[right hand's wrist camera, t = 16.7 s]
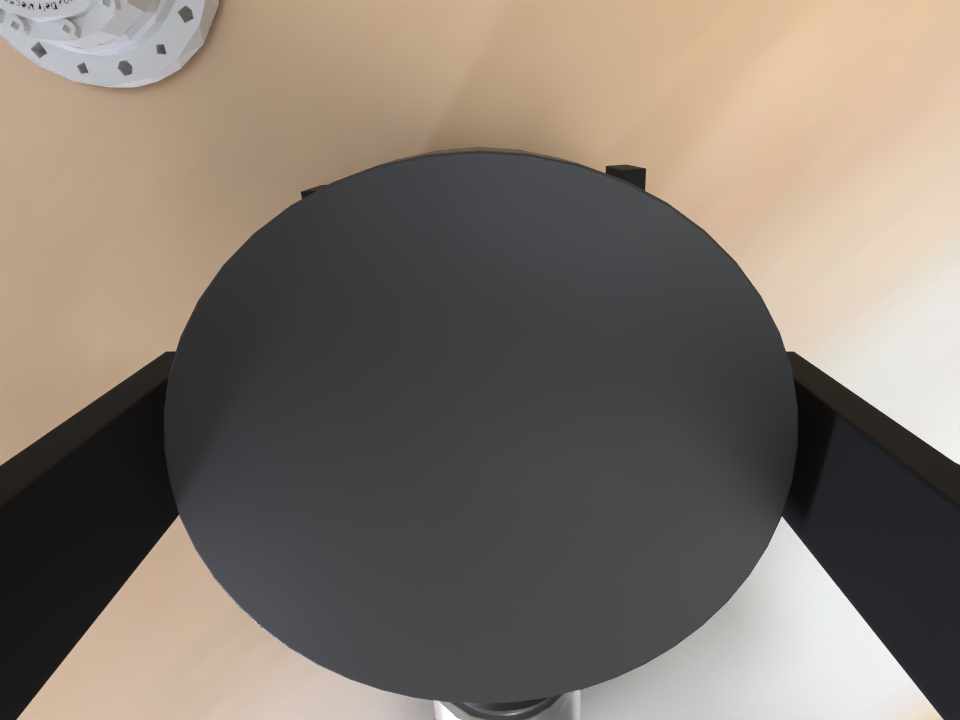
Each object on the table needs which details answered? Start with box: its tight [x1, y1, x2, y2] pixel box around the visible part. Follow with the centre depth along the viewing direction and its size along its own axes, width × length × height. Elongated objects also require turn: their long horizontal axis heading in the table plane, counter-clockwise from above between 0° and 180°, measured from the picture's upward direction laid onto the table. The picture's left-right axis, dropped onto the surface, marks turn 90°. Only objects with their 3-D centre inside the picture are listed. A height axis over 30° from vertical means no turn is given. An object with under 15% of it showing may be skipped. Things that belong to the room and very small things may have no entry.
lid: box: [164, 147, 798, 704], centre depth 11 cm, size 11×11×2 cm
